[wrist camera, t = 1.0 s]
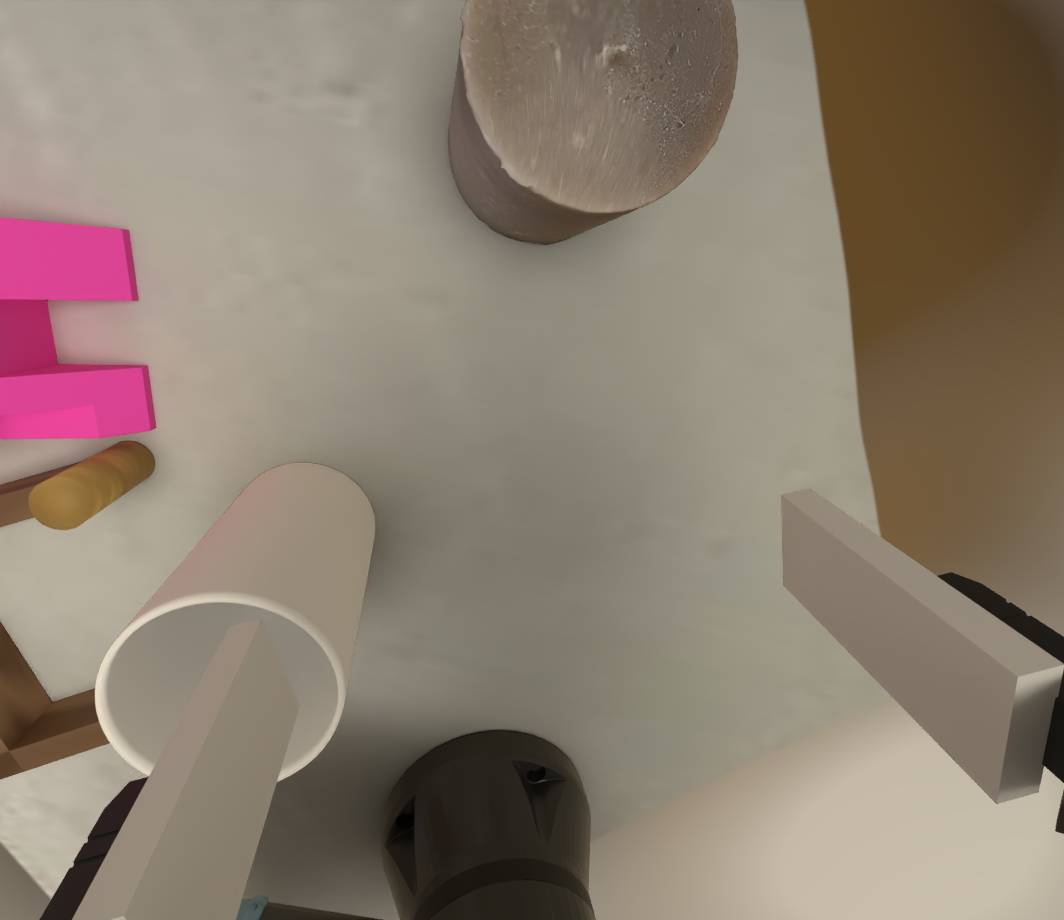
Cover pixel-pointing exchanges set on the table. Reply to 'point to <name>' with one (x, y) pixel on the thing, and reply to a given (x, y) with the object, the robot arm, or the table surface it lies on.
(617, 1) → the pillar candle
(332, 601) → the cup
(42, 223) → the bracket
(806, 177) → the table surface
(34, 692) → the bay
